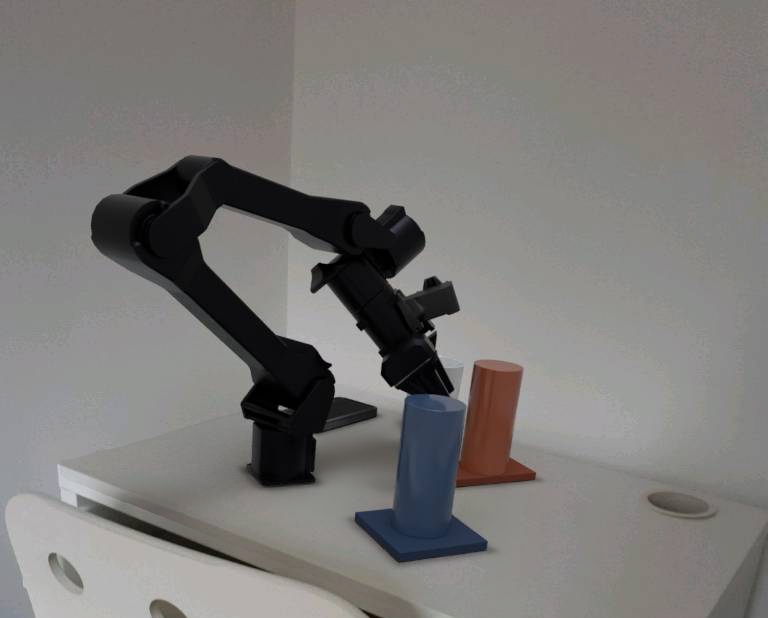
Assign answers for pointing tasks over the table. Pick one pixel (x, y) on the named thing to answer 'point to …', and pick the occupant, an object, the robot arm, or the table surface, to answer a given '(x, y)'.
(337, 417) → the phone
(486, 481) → the terracotta mat
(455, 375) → the white cup
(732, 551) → the table surface
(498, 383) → the terracotta cylinder
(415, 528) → the blue cylinder
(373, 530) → the blue mat
